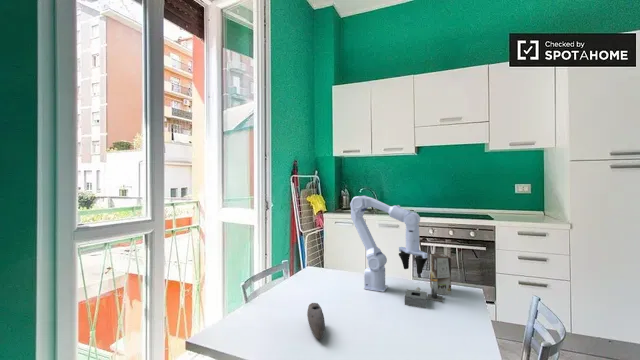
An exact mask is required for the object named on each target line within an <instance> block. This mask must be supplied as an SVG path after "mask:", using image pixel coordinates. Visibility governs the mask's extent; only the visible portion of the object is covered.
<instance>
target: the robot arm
mask: <svg viewBox="0 0 640 360" xmlns="http://www.w3.org/2000/svg"><path fill="white" fill-rule="evenodd" d="M349 206H350V217H351V218H350V219H351V220H352V222H353V225H354V227H355V229H356V231H357V233H358V235H359V238H360V240H361V242H362V245H363V247H364V249H365V250H366V253H365V254H366V255H365V257H366V260H367V266H368V267H366V268H365V269H364V273H363V274H364V276H363V277H364V279H363V280H364V281H363V282H364V283H363V285H364V286H363V287H364V288H363V289H364V290H369V291H375V292H383V293H385V292H386V291H387V288H388V285H387V284H386V267H385V265H386V264H387V263H388V262H387V261H388V260H387V259H388V258H387V256H386V255H385V254H384V253H383V251H382V250H381V248H379V247H378V246H377V244H376V241H375V240H374V237H373V236H372V233H371V231H370V229H369V227H368V224H367V223H366V220H365V219H364V214H365V211H366V210H367V209H368V208H374V209H377V210H379V211H381V212H382V211H383V212H384V213H388V215H389V218H392V219H394V220H396V221H399V222H401V223H404V224H405V247H404V246H399V247H398V256H399V258H400V260H401V263H402V265H403V266H402V267H403V269H404V270H408V269H409V266H410V265H409V264H410V257H411V256H416V257H414V260H415V265H416V273H417V274H418V275H421V274H422V273H423V269H424V266H425V264H426V262H427V261H428V258H429V257H428V253H427V252H425V251H423V250H420V224H419V223H420V222H421V217H420V215H419V214H418V213H417V212H416V211H412V212H411V210H410V209H408V210H407V209H405V208H403V207H401V205H399V204H397V205H389V204H386V203H384V202H383V201H380V200H378V199H375V198H373V197H371V196H367V195H358V196H357V195H356V196H353V198H352V199H351V201H350V203H349Z"/></svg>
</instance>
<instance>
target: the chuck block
mask: <svg viewBox="0 0 640 360" xmlns="http://www.w3.org/2000/svg"><path fill="white" fill-rule="evenodd" d="M427 296H428V293H427V291H423V290H422V291H421V288H420V287H418V286H417V287H416V288H415V289H414V290H413V289H406V291H405V294H404V306H409V307H417V308H423V309H426V308H427V302H428V300H427Z"/></svg>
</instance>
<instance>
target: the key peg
mask: <svg viewBox="0 0 640 360" xmlns="http://www.w3.org/2000/svg"><path fill="white" fill-rule="evenodd" d="M437 281H438V279H437V278H431V288H430V290H431V293H430V294H431V297H432V298H434V299H437V295H438V294H437Z"/></svg>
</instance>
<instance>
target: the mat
mask: <svg viewBox="0 0 640 360" xmlns="http://www.w3.org/2000/svg"><path fill="white" fill-rule="evenodd" d="M443 297H444V296H443V295H440V294H437V299H434V298H432V297H431V293H427V301H431V302H436V303H443V302H444V301H443V300H444V299H443Z"/></svg>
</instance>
